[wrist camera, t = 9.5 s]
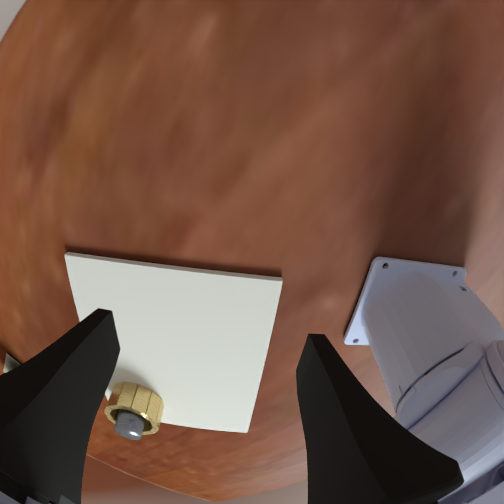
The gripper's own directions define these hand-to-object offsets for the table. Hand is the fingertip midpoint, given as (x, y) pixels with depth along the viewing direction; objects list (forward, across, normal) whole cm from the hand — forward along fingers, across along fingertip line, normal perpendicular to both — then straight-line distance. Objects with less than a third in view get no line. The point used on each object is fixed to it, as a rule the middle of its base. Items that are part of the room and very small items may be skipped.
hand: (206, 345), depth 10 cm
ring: (+9, +8, +19) cm, 22 cm away
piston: (+9, +8, +19) cm, 23 cm away
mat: (+9, +4, +13) cm, 17 cm away
